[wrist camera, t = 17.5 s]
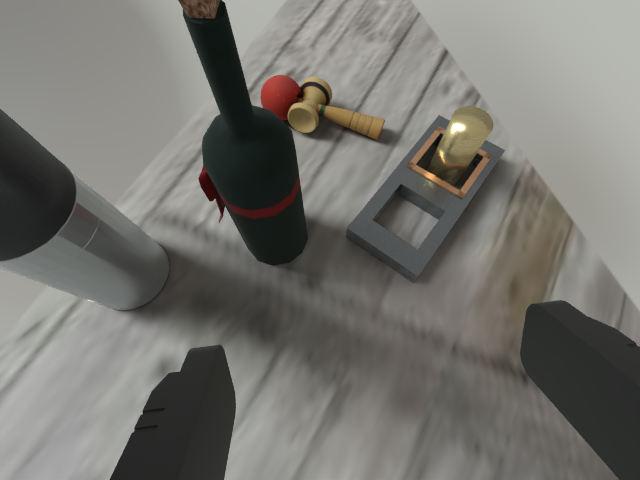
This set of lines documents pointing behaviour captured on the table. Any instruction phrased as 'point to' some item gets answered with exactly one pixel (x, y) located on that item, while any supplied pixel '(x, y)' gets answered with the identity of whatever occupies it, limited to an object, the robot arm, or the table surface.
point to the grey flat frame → (419, 203)
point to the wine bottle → (246, 147)
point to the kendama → (312, 106)
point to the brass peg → (460, 143)
